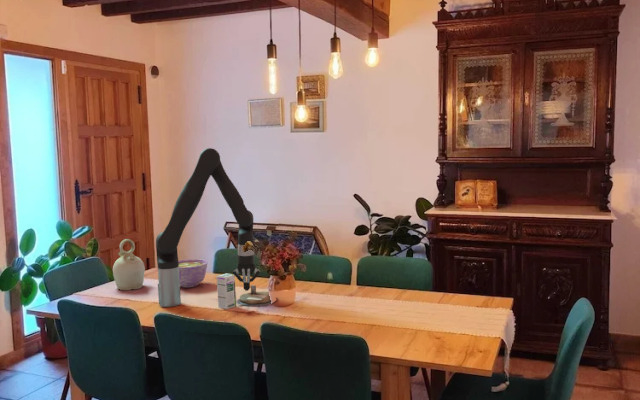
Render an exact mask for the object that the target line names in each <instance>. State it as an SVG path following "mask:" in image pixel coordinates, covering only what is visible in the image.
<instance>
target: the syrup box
mask: <svg viewBox="0 0 640 400" xmlns="http://www.w3.org/2000/svg"><path fill="white" fill-rule="evenodd" d="M235 277H236V276H235V275H234V274H233V273H223V274H220V275H217V276H216V289H217V304H218V305H217V307H218V308H219V309H223V310H229V309H232V308H236V307H237V295H236V279H235Z"/></svg>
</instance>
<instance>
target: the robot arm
mask: <svg viewBox="0 0 640 400" xmlns="http://www.w3.org/2000/svg"><path fill="white" fill-rule="evenodd" d="M211 177H212V178H213V180H214V182H215V184H216V185H217V187H218V189H219V192H220V193H221V195H222V196H223V199H224V200H225V202H226V204H227V205H228V207H229V208H230V210H231V212H232V215H233V217H234V219H235V221H236V222H237V224H238V233H237V267H236V269H234V270H233V271H232V274H233V275H235V277H236V279H237V280H238V281H239V282H242V283H243V290H244V291H249V290H251V285H250V284H251V283H252V282H254V281H255V279H256V278H257V277H258V275H260V272H261V270H260V269H258V268H257V267H256V265H255V251H254V252H253V251H252V250H248V251H246V252H243V251H242V250H243V245H245V243H246V242H247V241H251V242H252V241H253V242H254V232H253V231H254V214H253V213H252V211H250V210H248V209H247V207H246V205H245V203H244V199H243V197H242V196H241V194H240V192H239V190H238V188H237V187H236V186H235V185H234V183H233V182H232V180H231V179H230V177H229V176H228V174H227V172H226V170H225V169H224V167H223V162H221V156H220V153H219V152H218V151H217V150H216V149H215V148H212V147H208V148H205V149H203V150H202V151H201V152H200V154H199V157H198V160H197V163H196V165H195V168H194V170H193V171H192V174H191V176H190V177H189V178H188V180H187V181H186V183H185V184H184V186H183V188H182V189H181V192H180V193H179V196H178V197H177V199H176V201H175V204H174V205H173V206H174V207H173V209H172V213H171V217H170V219H169V221H168V224H167V225H166V227H165V229H164V230H163V231H161V232H160V233H158V235H157V236H156V238H155V251H156V253H155V254H156V261H157V277H158V283H157V293H158V294H157V295H158V305H159V306H160V307H161V308H167V307H168V308H170V307H171V308H172V307H176V306H180V305H181V303H182V299H181V298H182V297H181V286H180V279H179V256H178V255H179V254H178V253H179V252H178V246H179V243H180V240H181V238H182V235H183V233H184V232H185V231H184V230H185V228H186V226H187V225H188V223H189V222H190V220H191V219H192V217H193V215H194V213H195V211H196V210H197V208H198V206H199V203H200V202H201V200H202V198H203V194H204V192H205V190H206V186H207V183H208V181H209V179H210V178H211ZM253 272H254V274H253ZM239 273H240V274H241V275H240V274H239ZM252 274H253V275H252ZM251 275H252V277H251Z"/></svg>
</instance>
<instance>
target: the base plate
mask: <svg viewBox="0 0 640 400" xmlns="http://www.w3.org/2000/svg"><path fill="white" fill-rule="evenodd" d="M237 304H238V305H237V306H238V307H242V306H244V307H263V306H269V304H270V305H272V304H271V302H268V303H262V304H246V303H242V302H240V298H238V299H237Z"/></svg>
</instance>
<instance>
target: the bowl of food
mask: <svg viewBox="0 0 640 400" xmlns="http://www.w3.org/2000/svg"><path fill="white" fill-rule="evenodd" d="M178 261H179V279H180V288H194V287H196V286H197V285H199V284H201V283H202V282H203V281H204V279H205V278H206V273H207V268H208V261H207V260H205V259H199V258H198V259H196V258H195V259H193V258H191V259H180V260H179V259H178Z"/></svg>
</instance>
